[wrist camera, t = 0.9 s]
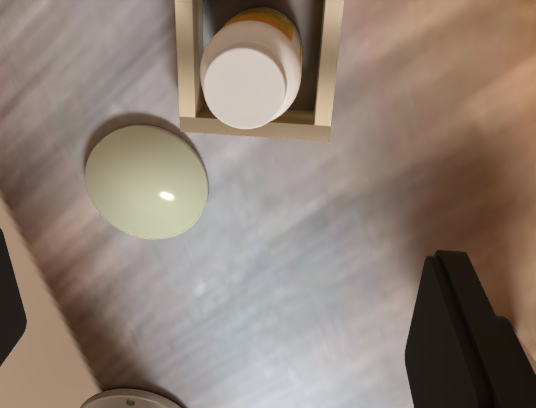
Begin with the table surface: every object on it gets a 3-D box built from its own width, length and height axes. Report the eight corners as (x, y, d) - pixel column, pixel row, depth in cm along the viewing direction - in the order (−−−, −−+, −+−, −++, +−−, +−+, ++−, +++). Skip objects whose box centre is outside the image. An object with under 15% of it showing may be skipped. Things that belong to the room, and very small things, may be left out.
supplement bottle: (204, 30, 32) (165, 63, 23) (279, -11, 30) (267, 8, 22) (244, 105, 34) (222, 160, 25) (316, 69, 33) (319, 115, 24)
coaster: (209, 238, 39) (207, 243, 38) (96, 229, 40) (92, 234, 39) (208, 128, 35) (206, 132, 34) (81, 120, 35) (77, 123, 35)
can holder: (327, 125, 34) (329, 147, 31) (190, 117, 35) (176, 136, 31) (343, -27, 30) (347, -23, 26) (185, -35, 30) (168, -32, 27)
